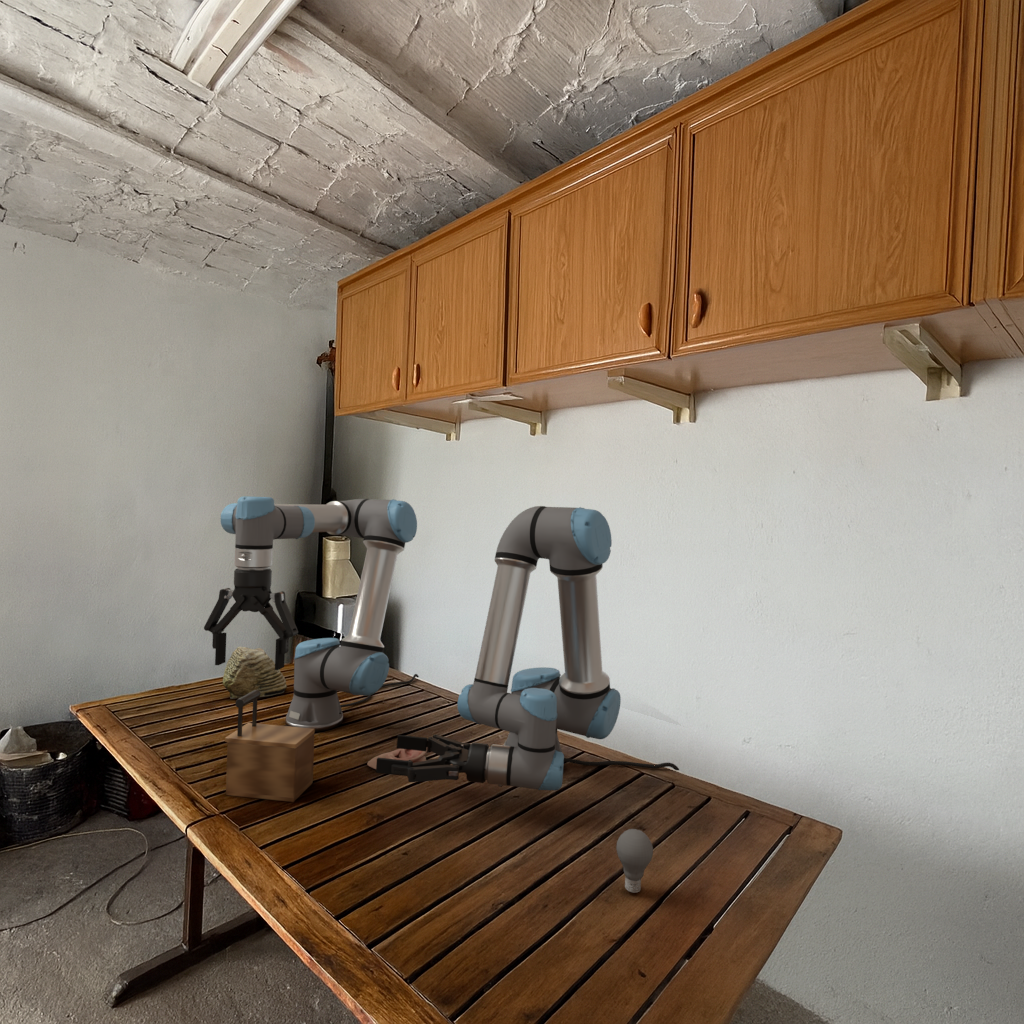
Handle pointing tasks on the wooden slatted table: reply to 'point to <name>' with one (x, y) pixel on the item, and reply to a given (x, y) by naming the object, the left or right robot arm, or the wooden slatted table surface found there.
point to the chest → (269, 770)
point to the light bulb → (634, 857)
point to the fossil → (252, 674)
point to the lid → (265, 729)
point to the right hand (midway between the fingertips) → (387, 752)
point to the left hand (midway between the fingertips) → (249, 666)
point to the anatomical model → (400, 756)
